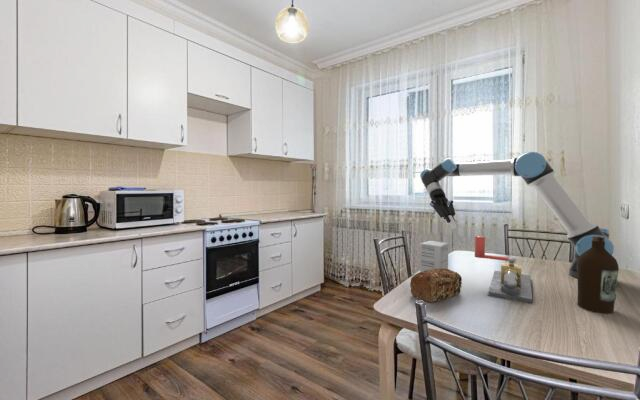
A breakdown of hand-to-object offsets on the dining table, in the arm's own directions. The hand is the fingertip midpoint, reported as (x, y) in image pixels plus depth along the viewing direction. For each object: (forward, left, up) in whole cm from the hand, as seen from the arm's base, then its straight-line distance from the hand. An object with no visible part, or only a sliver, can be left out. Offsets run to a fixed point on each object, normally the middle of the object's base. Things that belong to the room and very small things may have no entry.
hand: (454, 227), depth 151 cm
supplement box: (-1, +21, -22) cm, 30 cm away
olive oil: (-54, +8, -22) cm, 59 cm away
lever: (-21, +7, -11) cm, 24 cm away
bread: (-11, +38, -22) cm, 45 cm away
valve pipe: (-27, +5, -22) cm, 35 cm away
